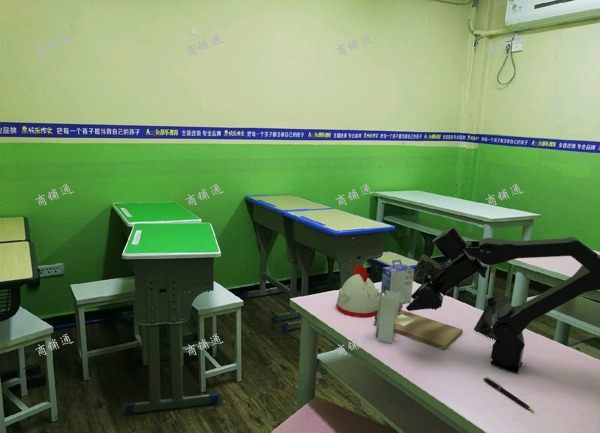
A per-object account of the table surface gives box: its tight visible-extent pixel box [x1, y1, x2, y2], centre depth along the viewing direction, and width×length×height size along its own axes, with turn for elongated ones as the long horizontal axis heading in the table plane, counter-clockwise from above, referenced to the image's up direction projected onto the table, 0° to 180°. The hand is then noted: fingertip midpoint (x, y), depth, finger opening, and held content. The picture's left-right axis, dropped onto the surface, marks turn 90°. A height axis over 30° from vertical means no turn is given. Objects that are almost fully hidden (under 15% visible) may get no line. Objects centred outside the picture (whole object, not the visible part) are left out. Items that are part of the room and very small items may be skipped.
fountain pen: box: [483, 377, 536, 413], centre depth 104 cm, size 14×1×2 cm, turn 25°
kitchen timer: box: [335, 264, 380, 319], centre depth 147 cm, size 14×14×15 cm
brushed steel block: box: [375, 290, 400, 345], centre depth 128 cm, size 5×6×13 cm
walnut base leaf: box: [373, 302, 464, 351], centre depth 136 cm, size 22×14×4 cm, turn 51°
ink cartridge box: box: [380, 259, 415, 304], centre depth 155 cm, size 10×6×14 cm, turn 116°
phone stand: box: [473, 294, 510, 341], centre depth 134 cm, size 9×6×12 cm, turn 32°
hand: (409, 303), depth 125 cm, fingers open, 9 cm apart
